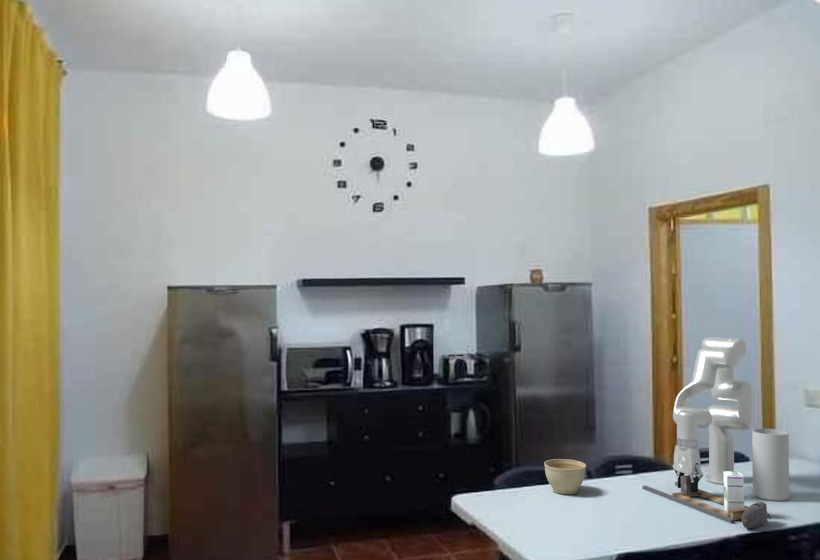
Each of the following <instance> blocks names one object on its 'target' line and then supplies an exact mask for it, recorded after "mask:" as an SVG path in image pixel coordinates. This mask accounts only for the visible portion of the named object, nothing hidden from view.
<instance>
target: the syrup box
mask: <svg viewBox="0 0 820 560" xmlns="http://www.w3.org/2000/svg"><path fill="white" fill-rule="evenodd" d="M723 473H724V484H723V498H724V505H723V510H724V511H727V512H728V510H732V509H740V508H744V505H745V487H744V483H745V482H744V478H745V477H744V475H743V474H742V473H741V472H739V471H734V472H733V471H726V472H723Z"/></svg>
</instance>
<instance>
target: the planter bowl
mask: <svg viewBox="0 0 820 560" xmlns="http://www.w3.org/2000/svg"><path fill="white" fill-rule="evenodd" d="M543 465H544V472H545V477H546V479H547V481H548V483H549V485H550V487H551V489H552V492H554V493H556V494H561V495H573V494H574V493H575V494H577V492H578V489H579V488H580V487H581V485H582V484H583V482H584V480H585V479H584V478H585V475H586V469H587V465H586V463H584V462H582V461H579V460H574V459H567V458H566V459H564V458H557V459H556V458H553V459H548V460H546V461H544V463H543Z"/></svg>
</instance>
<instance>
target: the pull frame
mask: <svg viewBox="0 0 820 560" xmlns="http://www.w3.org/2000/svg"><path fill="white" fill-rule="evenodd" d="M693 477H694V478H695V476H693ZM690 482H692V481H691V478H690V475H687V474H685V475H684V476H681V488H680V491H679V492H672V493H671V495H672V496H675V497H677V498H680V499H683V500H685V501H688V502H690V503H693V504H696V505H698V506H701V507H703V508H706V509H709V510H711V511H714V512H716V513H719V514H722V515H724V516H727V517H729V518H732V519H734V521H737V520H738V521H739V520H742V515H743V512H744V511H745V510H746V509H747V508H748V507H749V506H748V507H746V506H747V505H745V506H744V508H740V509H732V510H728V512H727V511H724V509H722V508H721V509H720V508H718V507H715V506H713V505H710V504H708V503H705V502H702V501H699V500H697V499H695V498H692V497H702V498H704V499H707V500H710V501H713V502H715V503H718V504H721V505H723V506H724V499H723V498H724V497H723V498H721V497H722V496H720V497H718V496H719V495H717V496H715V495H716V494H714V495H712V494H713V493H711V494H709V493H710V492H708V493H707V491H706V492H704V491H705V490H703V491H701V490H702V489H700V490H698V492H696V493H691V492H690Z"/></svg>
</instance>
